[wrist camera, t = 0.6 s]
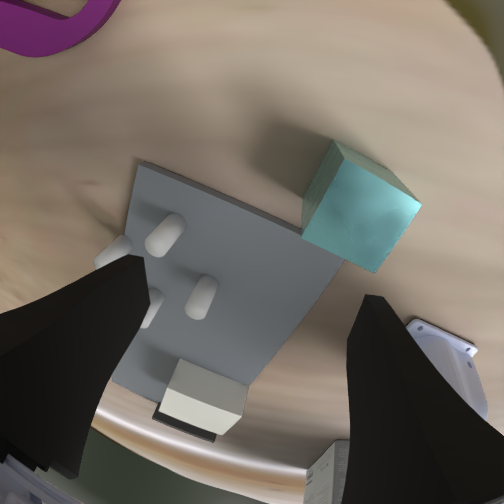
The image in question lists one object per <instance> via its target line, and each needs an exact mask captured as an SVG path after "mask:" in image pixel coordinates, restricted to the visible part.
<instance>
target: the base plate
mask: <svg viewBox="0 0 504 504" xmlns="http://www.w3.org/2000/svg"><path fill="white" fill-rule="evenodd" d="M127 254H131V255H136V256H142V257H144V263H145V270H146V277H147V284H148V290H149V296H150V302H151V304H150V307H149V309H148V311H147V314H146V316H145V318H144V320H143V323H142V325H141V327H140V329H139V330H138V332H137V334H136V335H135V337H134V339H133V340H132V342H131V344H130V345H129V347H128V349H127V350H126V352H125V354H124V355H123V357H122V358H121V360H120V362H119V363H118V365H117V367H116V368H115V370H114V372H113V374H112V381H113V382H114V383H116V384H118V385H120V386H122V387H124V388H126V389H128V390H130V391H132V392H134V393H136V394H138V395H140V396H142V397H144V398H146V399H149V400H151V401H153V402H155V403H157V404H158V405H157V407H156V410H155V412H154V414H153V417H152V419H153V420H156V421H158V422H160V423H163V424H165V425H167V426H170V427H172V428H175V429H177V430H180V431H182V432H185V433H187V434H190V435H193V436H195V437H198V438H201V439H204V440H207V441H210V442H212V443H213V442H214V441H215V438H216V433H213V432H210V431H208V430H205V429H202V428H199V427H197V426H194V425H191V424H189V423H186V422H184V421H181V420H179V419H176V418H174V417H171V416H169V415H167V414H164V413H162V412H160V411H159V409H160V406H161V403H162V400H163V398H164V395H165V392H166V389H167V387H168V385H169V382H170V380H171V378H172V375H173V373H174V371H175V368H176V366H177V364H178V362H179V359H180V358H181V359H183V360H185V361H187V362H190V363H192V364H194V365H197V366H199V367H202V368H204V369H206V370H209V371H211V372H214V373H216V374H219V375H221V376H224V377H227V378H229V379H232V380H234V381H237V382H240V383H243V384H245V385H248V386H250V384H251V383H252V382H253V381H254V380H255V378H256V377H257V376H258V375H259V374H260V372H261V371H262V370H263V369H264V368H265V366H266V365H267V364H268V363H269V361H270V360H271V359H272V358H273V356H274V355H275V354H276V353H277V351H278V350H279V349H280V348H281V346H282V345H283V344H284V343H285V341H286V340H287V339H288V337H289V336H290V335H291V334H292V332H293V331H294V330H295V328H296V327H297V326H298V324H299V323H300V322H301V320H302V319H303V318H304V317H305V315H306V314H307V312H308V311H309V310H310V308H311V307H312V306H313V304H314V303H315V302H316V300H317V299H318V298H319V296H320V295H321V293H322V292H323V291H324V289H325V288H326V286H327V285H328V284H329V282H330V281H331V279H332V278H333V276H334V275H335V274H336V272H337V271H338V269H339V268H340V266H341V265H342V263H343V262H344V261H345V259H344V258H342V257H340V256H337V255H335V254H333V253H331V252H329V251H327V250H325V249H323V248H321V247H319V246H316V245H314V244H312V243H310V242H308V241H306V240H304V239H302V238H301V229H300V228H298V227H295V226H293V225H291V224H289V223H287V222H285V221H283V220H280V219H278V218H276V217H274V216H272V215H269V214H267V213H265V212H263V211H261V210H258V209H256V208H254V207H252V206H249V205H247V204H245V203H243V202H240V201H238V200H236V199H234V198H231V197H229V196H227V195H225V194H222V193H220V192H218V191H215V190H213V189H211V188H208V187H206V186H204V185H201V184H199V183H197V182H194V181H192V180H189V179H187V178H185V177H182V176H180V175H177V174H175V173H173V172H170V171H168V170H165V169H163V168H160V167H158V166H155V165H153V164H150V163H148V162H145V161H144V162H142V163H140V164H138V168H137V172H136V177H135V181H134V186H133V190H132V195H131V200H130V205H129V211H128V216H127V222H126V227H125V233H124V235H119V236H118V237H117V238H116V239H114V240H113V241H112V242H111V243H110V244H109V245H108V246H107V247H106V248H105V249H104V250H103V251H102V252H101V253H100V254H99V255H98V256H97V257H96V258H95V259H94V266H95V268H96V269H99V268H101V267H103V266H105V265H106V264H108V263H110V262H112V261H114V260H116V259H118V258H120V257H123V256H125V255H127Z"/></svg>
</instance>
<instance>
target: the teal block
mask: <svg viewBox="0 0 504 504" xmlns="http://www.w3.org/2000/svg"><path fill="white" fill-rule="evenodd" d="M421 205H422V204H421V203H420V202H419V200H418V199H417V198H416V197H415V196H414V195H413V194H412V193H411V191H410V190H409V189H408V188H407V187H406V186H405V185H404V184H403V183H402V182H401V181H400V180H399V179H398V177H397V176H396V175H395V174H394V173H392V172H391V171H389V170H388V169H386V168H384V167H383V166H381V165H379V164H377V163H376V162H374V161H372V160H371V159H369V158H367V157H365V156H364V155H362V154H360V153H358V152H356V151H355V150H353V149H351V148H349V147H347V146H345V145H344V144H342V143H340V142H338V141H336V140H334V139H333V141H332V143H331V145H330V147H329V149H328V151H327V153H326V155H325V157H324V159H323V161H322V163H321V165H320V167H319V169H318V170H317V172H316V174H315V176H314V178H313V180H312V182H311V184H310V186H309V188H308V190H307V191H306V193H305V195H304V197H303V202H302V222H301V238H302V239H304V240H306V241H308V242H310V243H312V244H314V245H316V246H319V247H321V248H323V249H325V250H327V251H329V252H331V253H333V254H335V255H337V256H340V257H342V258H344V259H346V260H348V261H350V262H352V263H354V264H356V265H358V266H360V267H362V268H364V269H366V270H368V271H370V272H372V273H375V272H376V271H377V269H378V268H379V267H380V265H381V264H382V263H383V261H384V260H385V258H386V257H387V256H388V254H389V253H390V252H391V250H392V249H393V247H394V246H395V244H396V243H397V242H398V240H399V239H400V237H401V236H402V234H403V233H404V231H405V230H406V228H407V227H408V225H409V224H410V222H411V221H412V219H413V218H414V216H415V215H416V213H417V212H418V210H419V208H420V207H421Z"/></svg>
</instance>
